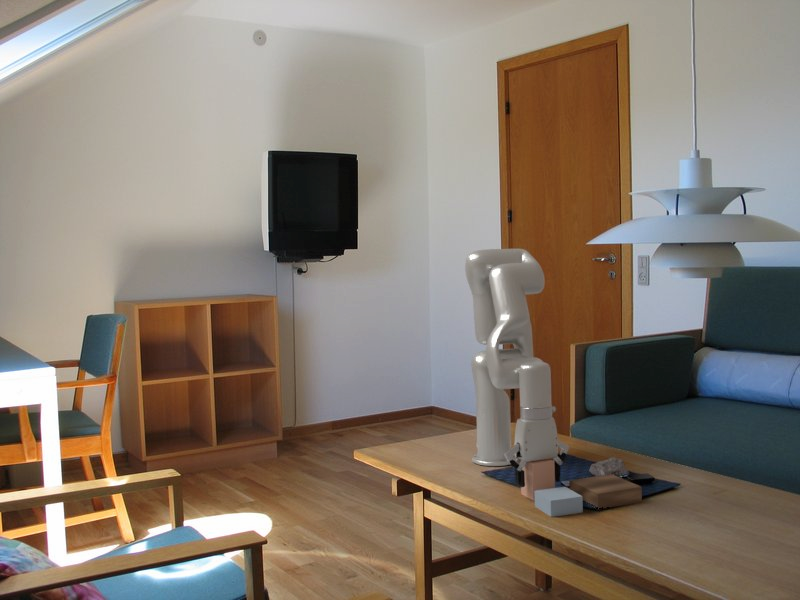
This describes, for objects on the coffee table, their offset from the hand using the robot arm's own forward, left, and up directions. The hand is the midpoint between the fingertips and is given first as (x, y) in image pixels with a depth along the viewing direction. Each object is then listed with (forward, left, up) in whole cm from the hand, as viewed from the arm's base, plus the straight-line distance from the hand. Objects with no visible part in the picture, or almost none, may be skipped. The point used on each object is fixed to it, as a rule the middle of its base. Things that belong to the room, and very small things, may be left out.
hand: (538, 483), depth 196 cm
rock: (-7, +25, -4) cm, 26 cm away
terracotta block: (0, 0, -3) cm, 3 cm away
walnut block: (+9, +13, -4) cm, 16 cm away
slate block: (+11, -1, -3) cm, 11 cm away
